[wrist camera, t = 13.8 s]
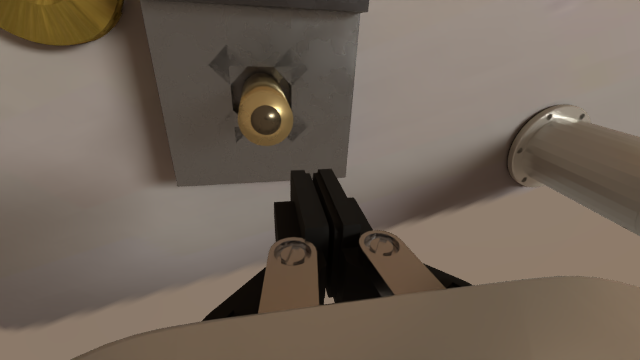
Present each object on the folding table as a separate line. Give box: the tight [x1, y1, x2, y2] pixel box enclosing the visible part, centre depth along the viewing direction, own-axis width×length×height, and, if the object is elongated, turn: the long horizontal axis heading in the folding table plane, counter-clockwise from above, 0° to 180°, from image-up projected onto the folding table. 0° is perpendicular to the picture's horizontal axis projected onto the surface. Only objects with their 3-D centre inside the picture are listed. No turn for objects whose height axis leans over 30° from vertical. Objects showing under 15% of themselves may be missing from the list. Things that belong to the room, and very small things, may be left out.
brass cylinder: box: [238, 73, 293, 146], centre depth 26 cm, size 4×4×10 cm
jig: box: [140, 0, 369, 187], centre depth 29 cm, size 18×18×6 cm
